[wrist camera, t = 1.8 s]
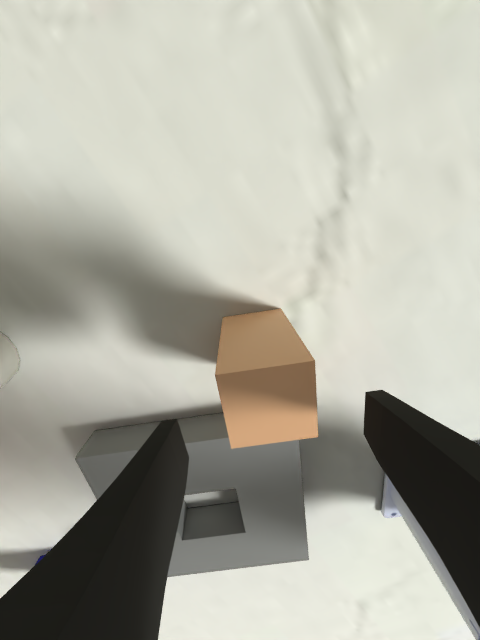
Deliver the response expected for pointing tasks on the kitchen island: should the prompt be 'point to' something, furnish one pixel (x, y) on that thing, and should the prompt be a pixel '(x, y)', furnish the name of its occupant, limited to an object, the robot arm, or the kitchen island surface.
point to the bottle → (7, 360)
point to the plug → (265, 380)
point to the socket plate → (214, 475)
